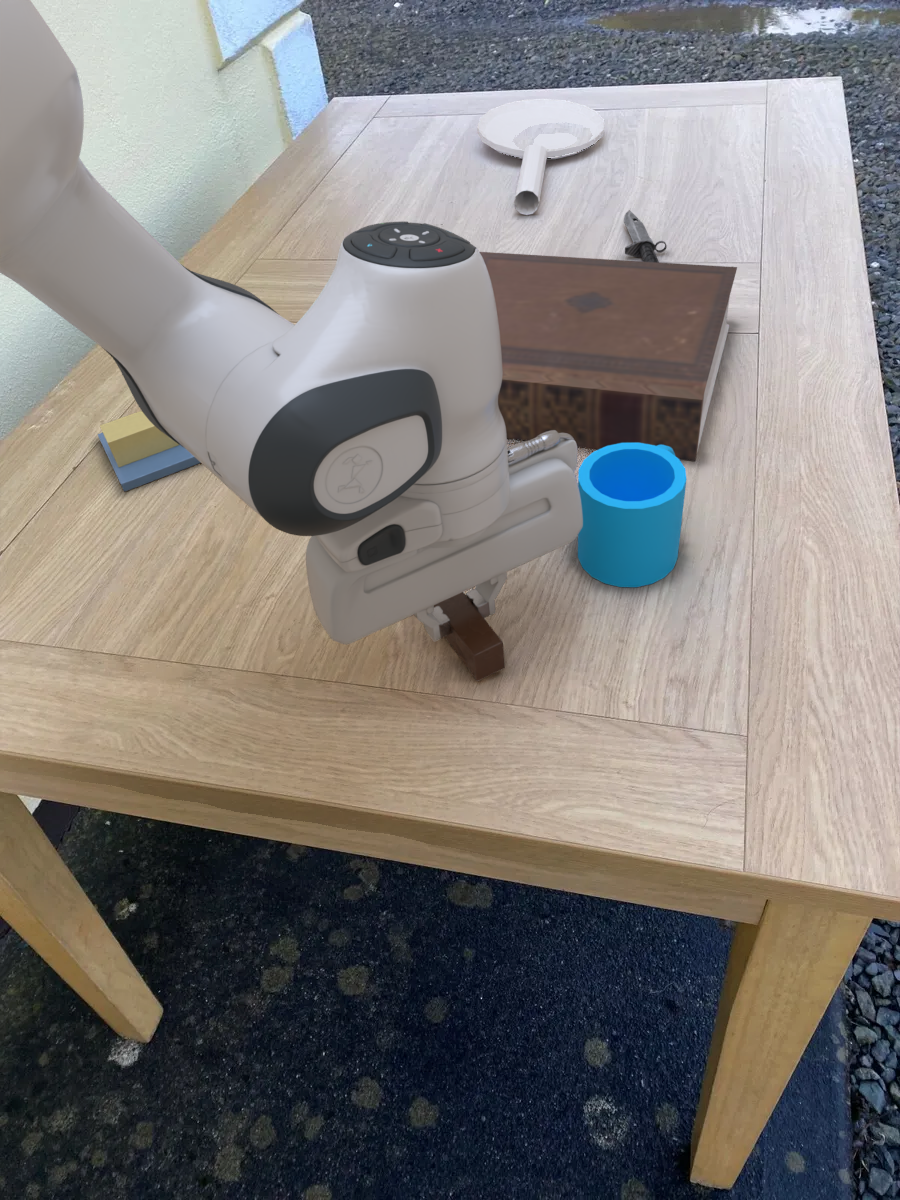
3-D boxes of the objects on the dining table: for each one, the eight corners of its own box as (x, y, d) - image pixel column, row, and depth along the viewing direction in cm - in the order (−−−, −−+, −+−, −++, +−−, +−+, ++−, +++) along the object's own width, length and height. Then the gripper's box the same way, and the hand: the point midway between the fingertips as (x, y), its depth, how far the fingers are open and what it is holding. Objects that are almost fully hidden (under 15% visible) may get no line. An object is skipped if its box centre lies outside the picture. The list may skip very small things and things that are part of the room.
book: (695, 461, 83) (702, 399, 78) (409, 426, 91) (400, 368, 86) (729, 325, 98) (737, 267, 94) (482, 305, 106) (478, 251, 102)
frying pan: (596, 226, 122) (599, 192, 119) (456, 221, 124) (455, 188, 121) (604, 119, 145) (606, 87, 141) (485, 116, 147) (485, 86, 143)
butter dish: (124, 492, 88) (109, 459, 85) (100, 441, 94) (86, 409, 91) (259, 441, 92) (249, 407, 89) (227, 396, 98) (217, 363, 95)
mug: (651, 600, 71) (658, 521, 65) (559, 567, 75) (558, 489, 69) (711, 511, 78) (723, 432, 72) (624, 484, 81) (628, 407, 76)
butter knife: (476, 682, 66) (474, 656, 64) (364, 527, 79) (358, 501, 77) (505, 668, 67) (503, 642, 65) (388, 517, 80) (383, 491, 78)
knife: (609, 204, 117) (648, 200, 117) (609, 220, 119) (647, 215, 118) (637, 273, 104) (681, 267, 104) (637, 289, 106) (680, 284, 106)
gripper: (550, 400, 63) (553, 545, 73) (278, 509, 58) (321, 651, 68) (603, 444, 59) (598, 592, 69) (316, 566, 54) (356, 708, 64)
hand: (459, 622), depth 68 cm, fingers closed on butter knife, 2 cm apart
